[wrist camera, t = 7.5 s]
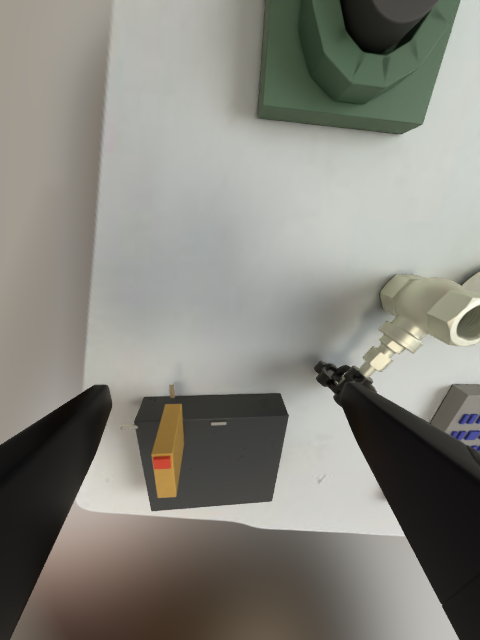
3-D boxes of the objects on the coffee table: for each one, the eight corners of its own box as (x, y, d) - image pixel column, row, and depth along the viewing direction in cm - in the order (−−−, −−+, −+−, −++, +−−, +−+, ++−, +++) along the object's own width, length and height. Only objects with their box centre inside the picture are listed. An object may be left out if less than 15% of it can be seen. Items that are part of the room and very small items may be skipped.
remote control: (508, 383, 27) (532, 396, 25) (429, 495, 36) (442, 511, 34) (451, 383, 26) (471, 397, 24) (385, 498, 35) (395, 515, 33)
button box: (257, 118, 14) (269, 88, 11) (271, -93, 11) (294, -225, 8) (401, 134, 15) (451, 111, 12) (454, -53, 12) (540, -153, 9)
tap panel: (148, 483, 28) (140, 514, 25) (126, 362, 20) (111, 386, 17) (266, 475, 29) (272, 503, 26) (286, 361, 22) (296, 382, 19)
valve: (392, 252, 18) (302, 358, 22) (477, 267, 12) (334, 409, 16) (438, 291, 20) (348, 383, 24) (529, 321, 14) (392, 437, 18)
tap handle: (184, 443, 21) (175, 500, 17) (168, 444, 21) (156, 502, 17) (181, 403, 19) (171, 457, 15) (165, 403, 19) (149, 458, 15)
